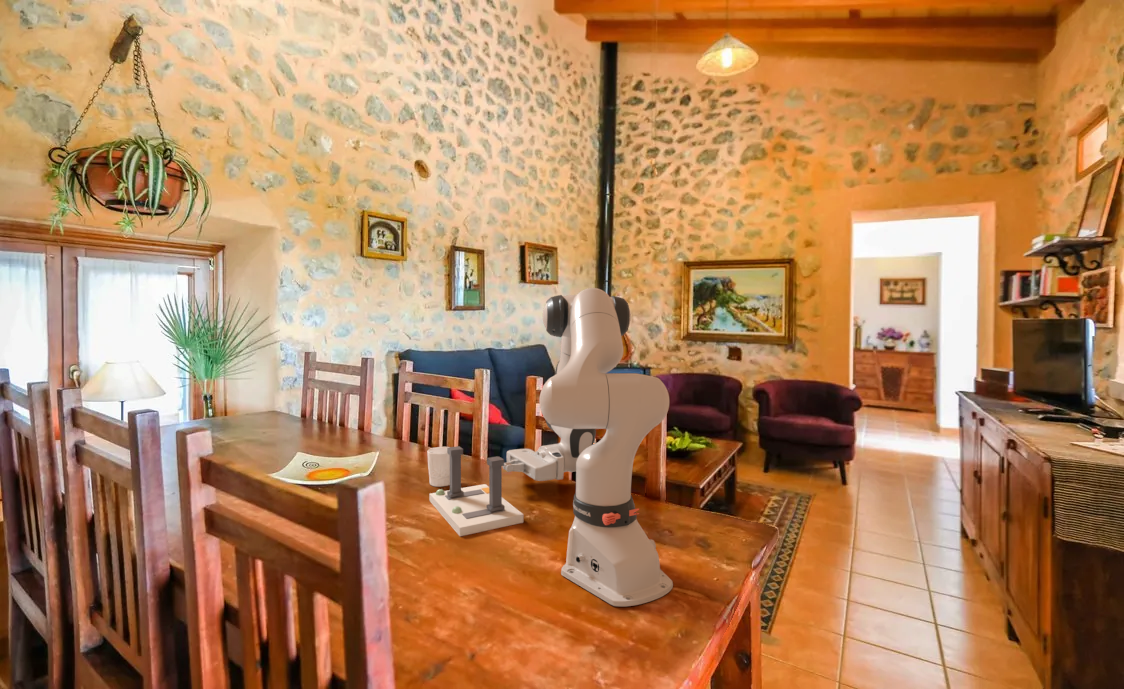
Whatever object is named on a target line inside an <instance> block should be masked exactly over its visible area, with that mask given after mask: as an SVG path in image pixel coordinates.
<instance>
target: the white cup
mask: <svg viewBox="0 0 1124 689" xmlns="http://www.w3.org/2000/svg"><path fill="white" fill-rule="evenodd" d="M449 447H450V446H437V447H431V448H429V449H428V450H427V468H428V477H429V478H428V479H429V485H430V486H432V487H435V488H436V487H438V488H442V487H448V486H450V455H449V454H448V453H447V448H449Z"/></svg>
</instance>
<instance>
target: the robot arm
mask: <svg viewBox="0 0 1124 689" xmlns="http://www.w3.org/2000/svg"><path fill="white" fill-rule="evenodd" d="M545 303H546V304H544V308H543V310H542V323H543V324H544V328H545V329H546V332H547V333H548V334H549V335H550V336H552V337H557V338H561V341H560V356H559V357H560V358H559V361H558V362H557V365H556V367H555V372H554V375H553V376H551V377H549V378H548V379H547V380H546V381H545V383H544V384H543V386H542V387H541V391H540V394H539V399H538V401H539V403H538V404H539V408H540V413H541V414H542V416H543V418H544V419H545V424H546V425H547V427H548V428H549V429H550V430H551V431H552V432H554V433H555V434H556V435H557V436H558V437H559V438H560V442H558V443H553V444H552V443H551V444H547V445H541V446H539V447H538V449H537V450H536V451H535V450H533V449H531V448H517V449H509V450H507V451H506V462H504V466H502V469H503V470H504V471H506V472H508V473H511V472H518V473H521V472H522V473H523V474H525V475H526V476H528V477H529V478H531V479H533V480H534V481H537V482H538V481H539V482H544V481H545V482H546V481H551V480H557V481H560V480H564V473H566V472H569V473H573V472H575V493H574V495H573V499H572V501H573V502H572V506H573V507H572V508H573V515H574V519H573V522H572V525H571V527H570V528H569V530H568V538H567V548H566V549H567V550H566V559H565V561H566V562H565V564H563V566H562V567H561V569H560V570H561V571H560V574H561V576H563V577H564V578H566V579H568V580H569V581H571V582H573V583H574V584H576V585H577V586H580V587H581V588H583V589H584V590H585V591H587V592H589V593H590V594H592V595H594V596H595V597H597V598H599V599H601V600H603V601H604V602H606V603H607V604H609V605H611V606H613V607H631V606H638V605H642V604H645V603H646V604H647V603H649V602H652V601H655V600H658V599H660V598H662V597H664V596H665V595H667V594H668V593H669V592H671V591H672V589H673V588H674V587H673V586H674V583H673V580H672V579H671V578H670V577H669V576H668V575H667V574H666V573H665V572H664V571H663V570H662V569H661V563H660V557H659V553H658V551H657V549H656V548H657V546H656V541H655V540H654V539H649V538H648V536H647V534H646V532H645V530H644V529H643V528H642V526H641V525H640V523H639V522H638V519H637V517H638V516H637V515H640V512H638V511H640V508H636V505H635V503H634V499H633V495H631V493H632V476H633V466H634V460H635V456H636V454H637V451H638V449H639V447H640V444H641V443H642V441H643V440H644V439H645V438H646V437H647V435H648V434H649V433H650V432H651V431H652V430H653V429H655V428H656V427H657V426H658V425H660V424H661V423H662V422H663V421H664V419H665V418H666V417H667V414H668V411H669V408H670V394H669V391H668V389H667V387H666V385H665V383H664V382H663V381H662V380H661V379H660V378H659V377H657V376H652V375H647V374H642V373H631V372H627V373H623V372H622V373H619V372H618V373H616V372H615V373H613V372H611V371H612V370H613V369H614V368H616V367H617V365H618V364H619V363H620V362H621V360H622V358H623V355H624V343H623V338H622V336H624V335H625V334H626V333H627V332H628V330H629V328H630V325H631V319H632V316H631V314H632V313H631V310H630V307H629V306H630V305H629V304H628V301H626V299H625V298H624V297H620V296H615V295H612V296H610V295H609V294H608V293H607V292H606V291H604V290H603V289H600V288H597V287H588V288H585V289H582V290H580V291H579V292H578V293H577V294H569V295H562V294H557V295H554V296H550V297H549V298H548V299H547V300H546V302H545ZM609 372H610V373H609ZM599 429H600V430H601V429H603V430H606V431H605V433H604V435H603V437H602V438H601V439H599V441H598V442H597V441H596V435H597V434H596V433H597V430H599ZM595 441H596V442H595ZM593 443H595V444H593Z"/></svg>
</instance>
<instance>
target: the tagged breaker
mask: <svg viewBox="0 0 1124 689" xmlns="http://www.w3.org/2000/svg"><path fill="white" fill-rule="evenodd" d="M448 447H449V448H447V453H448V454H449V455H450V485H449V490H450V491H447V490H446V491H447V495H448V496H449V497H450V498H451V497H457V496H462V495H464V492H463V491H462V490H461V488H462V456H463V455H464V448H462V447H461V446H459V445H458V446H457V445H456V446H448Z"/></svg>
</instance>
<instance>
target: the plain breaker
mask: <svg viewBox="0 0 1124 689" xmlns="http://www.w3.org/2000/svg"><path fill="white" fill-rule="evenodd" d="M504 463H505V459H504V458H502V457H500V456H499V455H498V456H491V457H486V464H487V466H489V468H488V475H489V477H488V478H489V485H488V486H489V504H488V505H487V509H488V510H489V511H490V512H493V511H498V510H503V509H505V506H504V505H503V504H502V498H503V496H502V494H503V492H502V491H503V490H502V489H503V488H502V485H503V484H502V483H503V482H502V475H503V474H502V473H503V472H502V469H503V466H504Z"/></svg>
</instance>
